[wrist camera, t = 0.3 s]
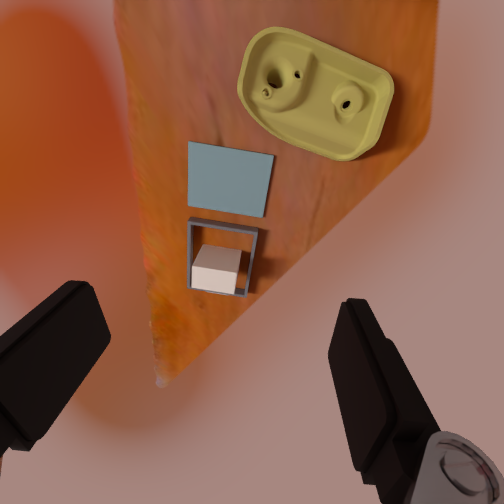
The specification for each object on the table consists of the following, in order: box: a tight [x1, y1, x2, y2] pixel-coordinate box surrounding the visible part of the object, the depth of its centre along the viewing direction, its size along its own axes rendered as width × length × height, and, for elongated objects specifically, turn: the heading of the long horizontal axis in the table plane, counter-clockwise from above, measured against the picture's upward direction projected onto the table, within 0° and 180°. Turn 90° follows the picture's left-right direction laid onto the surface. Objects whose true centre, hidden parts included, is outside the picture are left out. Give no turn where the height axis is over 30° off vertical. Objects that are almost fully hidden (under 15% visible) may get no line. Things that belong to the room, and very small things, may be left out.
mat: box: [188, 141, 274, 218], centre depth 42 cm, size 11×14×1 cm
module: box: [192, 244, 242, 294], centre depth 48 cm, size 5×8×8 cm, turn 82°
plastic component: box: [237, 27, 394, 161], centre depth 34 cm, size 20×7×10 cm
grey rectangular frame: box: [187, 217, 258, 298], centre depth 50 cm, size 17×13×2 cm
